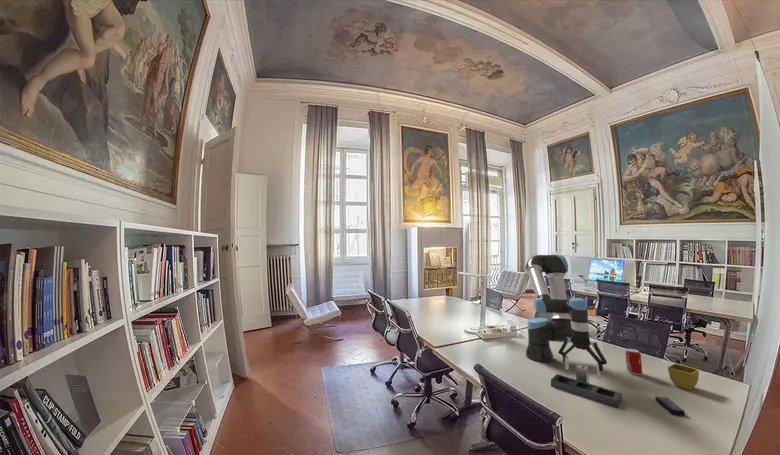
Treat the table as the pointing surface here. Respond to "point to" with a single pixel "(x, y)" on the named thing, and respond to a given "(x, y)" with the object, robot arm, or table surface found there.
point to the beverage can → (633, 362)
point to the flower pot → (683, 376)
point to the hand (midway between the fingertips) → (582, 373)
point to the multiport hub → (670, 406)
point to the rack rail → (587, 390)
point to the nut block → (582, 373)
